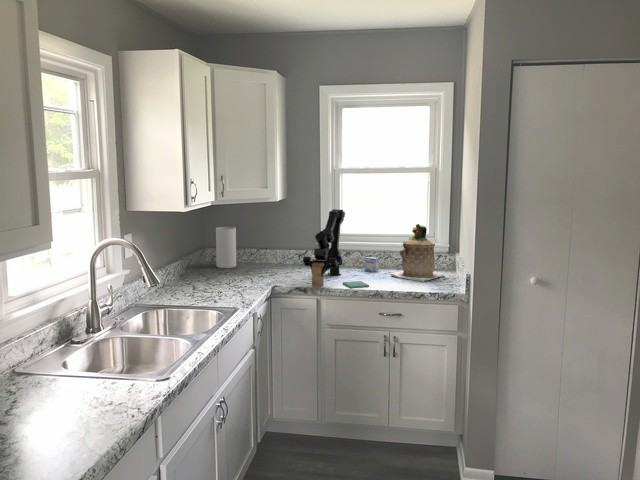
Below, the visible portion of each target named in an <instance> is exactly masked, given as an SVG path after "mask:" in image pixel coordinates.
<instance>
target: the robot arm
mask: <svg viewBox="0 0 640 480" xmlns="http://www.w3.org/2000/svg"><path fill="white" fill-rule="evenodd" d="M345 217H346V212H345V211H344V210H343V209H335V208H333V209H332V210H330V211H329V212H328V218H327V222H326V225H325V227H324V229H322V230H319V232H318V233H317V234H315V236H314V238H315V241H316V244H317V246H318V248H314V249H313V255H314V258H312V257H311V256H303V258H302V262H303V264H304V265H303V266H306V267H309V268H310V270H311V272H312V264H313V263H324V267H323V270H322V273H321V275H323V276H324V274H325V273H326V272H327V271H328V270H329V272H327V273H328V275H329V276H341V275H342V274H341V273H340V266H343V257H342V254H341V253H342V252H341V251H340V247H339V246H340V244H339V243H340V234H341V226H342V225H341V224H343V222H344V220H345V219H344V218H345Z"/></svg>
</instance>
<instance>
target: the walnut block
mask: <svg viewBox="0 0 640 480" xmlns="http://www.w3.org/2000/svg"><path fill="white" fill-rule="evenodd" d="M323 267H324V263H313V264H312V271H311V287H312V288H323V287H324V274H323V275H321V273H322V270H323Z"/></svg>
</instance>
